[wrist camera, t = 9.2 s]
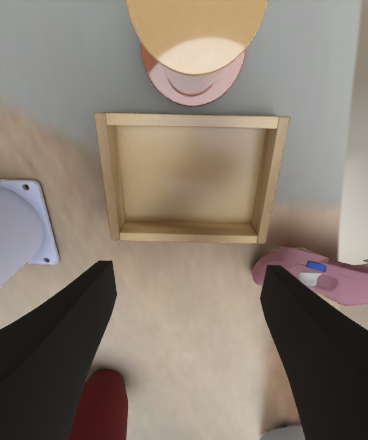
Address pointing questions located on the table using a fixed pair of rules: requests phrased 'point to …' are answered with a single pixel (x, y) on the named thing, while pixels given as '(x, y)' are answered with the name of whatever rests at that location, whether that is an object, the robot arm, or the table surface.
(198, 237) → the crate
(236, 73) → the coaster
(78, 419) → the mug
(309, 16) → the table surface
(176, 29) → the spice jar
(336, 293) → the video game controller
